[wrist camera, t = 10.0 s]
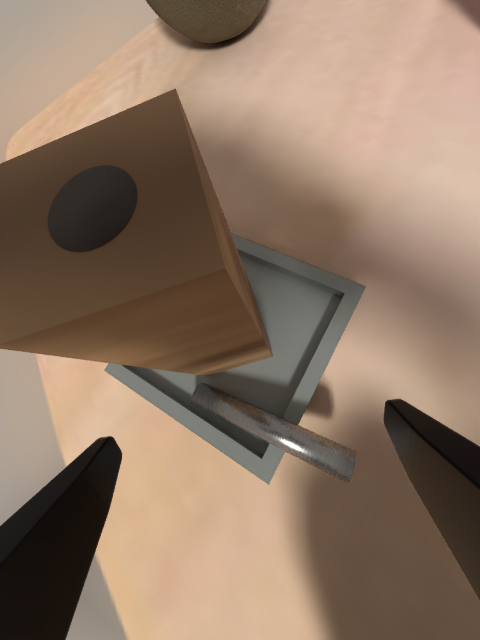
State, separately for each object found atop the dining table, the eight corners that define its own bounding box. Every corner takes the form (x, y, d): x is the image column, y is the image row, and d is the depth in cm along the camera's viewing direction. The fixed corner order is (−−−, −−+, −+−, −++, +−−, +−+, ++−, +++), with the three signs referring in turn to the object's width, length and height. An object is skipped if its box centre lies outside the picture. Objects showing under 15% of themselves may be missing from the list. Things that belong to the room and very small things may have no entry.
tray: (270, 476, 16) (268, 484, 15) (117, 371, 20) (104, 370, 19) (359, 294, 18) (365, 286, 17) (203, 230, 22) (197, 220, 21)
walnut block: (273, 356, 18) (224, 267, 5) (207, 376, 18) (-9, 347, 5) (253, 293, 19) (175, 87, 6) (193, 313, 20) (-2, 164, 7)
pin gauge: (350, 461, 14) (357, 445, 13) (345, 488, 13) (353, 473, 12) (206, 392, 18) (204, 377, 17) (193, 409, 17) (190, 394, 16)
